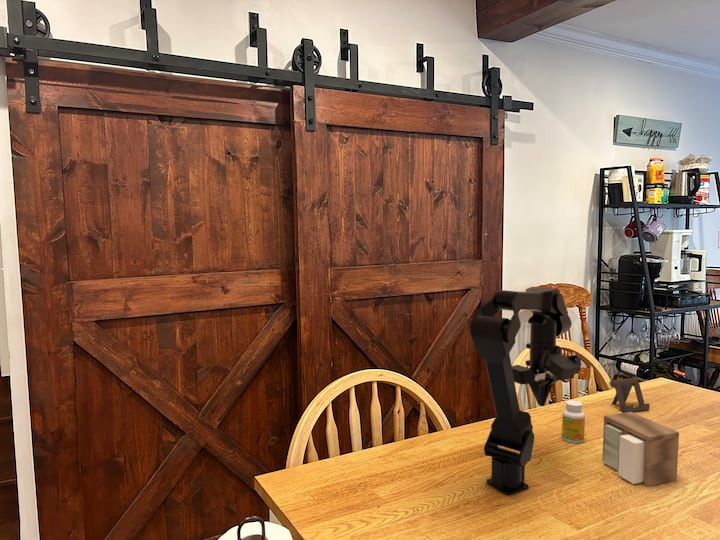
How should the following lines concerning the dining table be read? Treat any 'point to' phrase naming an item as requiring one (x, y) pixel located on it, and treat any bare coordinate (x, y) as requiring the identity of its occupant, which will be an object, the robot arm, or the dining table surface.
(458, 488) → the dining table surface
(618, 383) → the portable electronic device stand
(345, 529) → the dining table surface
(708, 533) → the dining table surface
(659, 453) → the walnut housing
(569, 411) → the supplement bottle
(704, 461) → the dining table surface
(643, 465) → the white plug
